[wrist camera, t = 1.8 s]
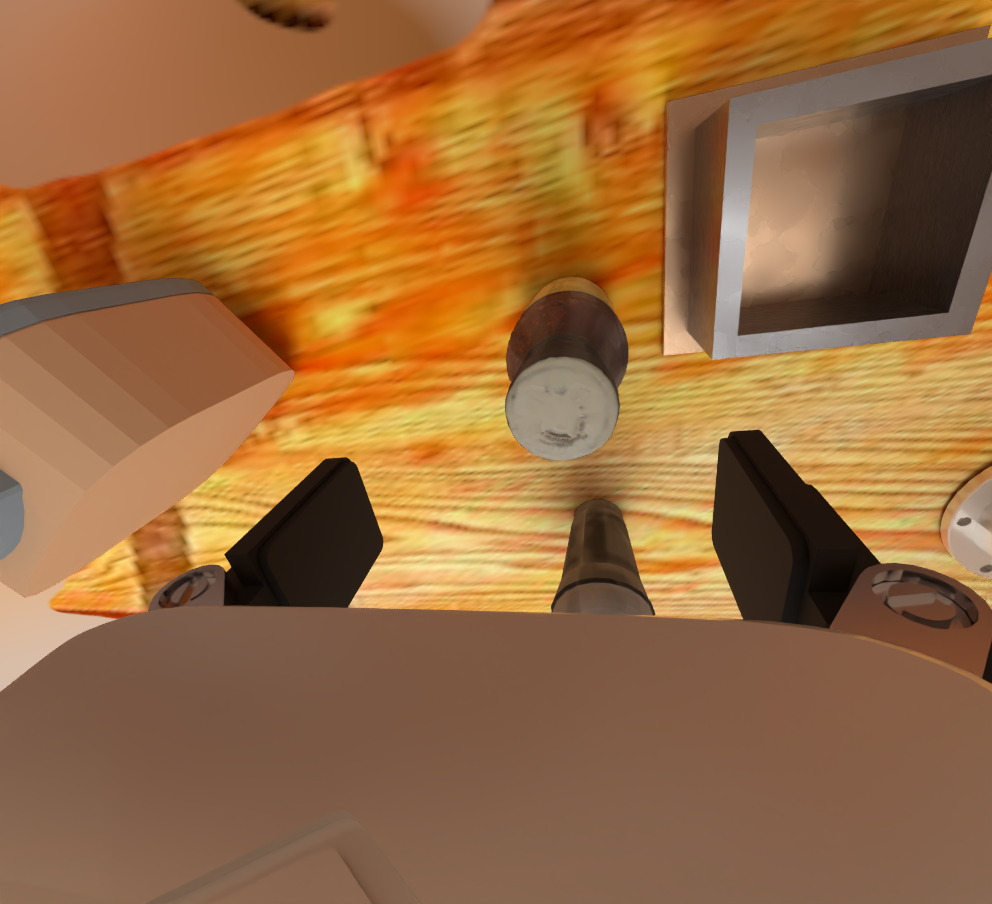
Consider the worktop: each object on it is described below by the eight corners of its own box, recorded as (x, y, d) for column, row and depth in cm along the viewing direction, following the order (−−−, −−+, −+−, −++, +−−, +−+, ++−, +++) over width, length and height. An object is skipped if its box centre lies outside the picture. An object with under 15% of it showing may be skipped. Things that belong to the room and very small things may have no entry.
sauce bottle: (576, 373, 34) (564, 527, 17) (513, 326, 33) (435, 439, 16) (633, 304, 31) (691, 409, 14) (565, 250, 30) (537, 291, 13)
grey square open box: (974, 32, 22) (1153, -54, 15) (898, 326, 29) (997, 360, 22) (665, 105, 25) (694, 63, 19) (661, 351, 32) (682, 387, 25)
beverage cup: (646, 492, 38) (694, 717, 21) (629, 553, 42) (659, 789, 24) (564, 481, 39) (546, 687, 22) (555, 542, 43) (534, 760, 25)
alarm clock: (234, 264, 35) (-163, 314, 17) (322, 351, 38) (60, 481, 19) (147, 408, 44) (-171, 544, 26) (222, 471, 47) (-21, 638, 28)
